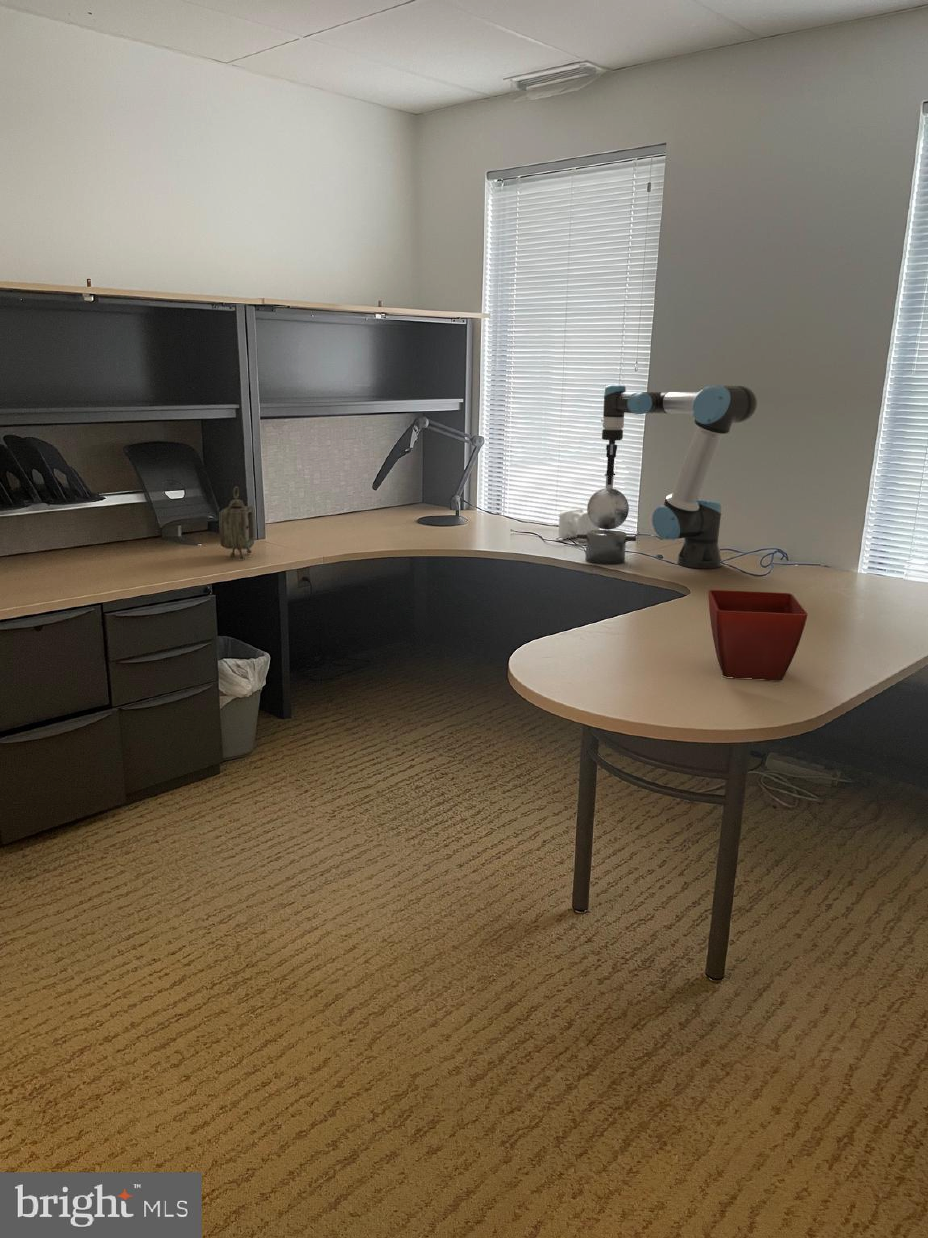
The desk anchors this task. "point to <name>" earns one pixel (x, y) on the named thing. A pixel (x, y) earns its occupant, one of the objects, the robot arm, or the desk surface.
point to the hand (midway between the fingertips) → (608, 493)
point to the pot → (605, 546)
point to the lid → (608, 508)
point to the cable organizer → (574, 524)
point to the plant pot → (755, 632)
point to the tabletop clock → (237, 526)
